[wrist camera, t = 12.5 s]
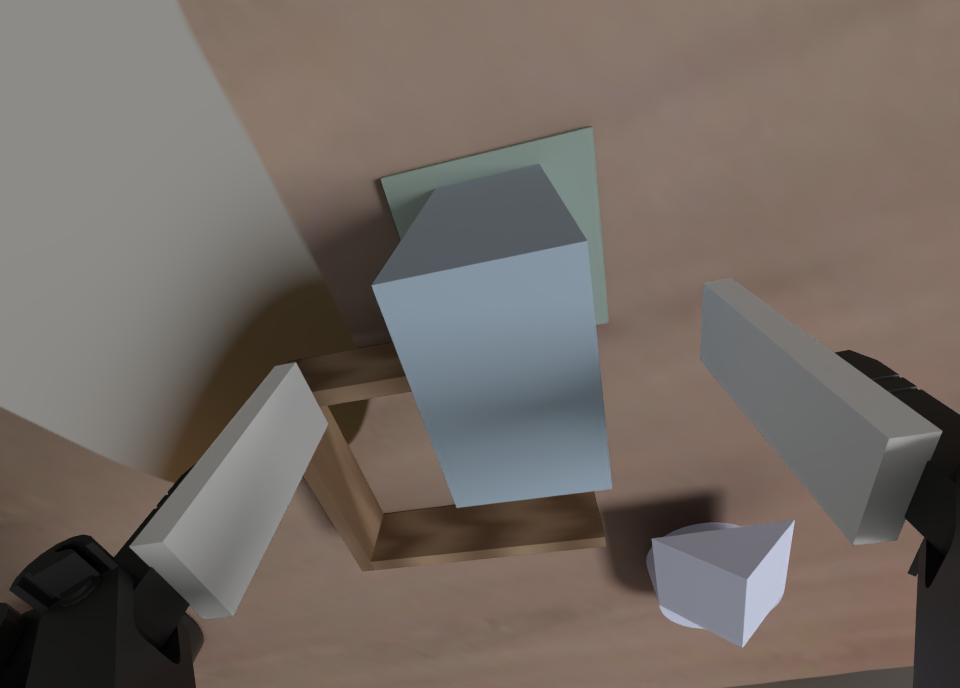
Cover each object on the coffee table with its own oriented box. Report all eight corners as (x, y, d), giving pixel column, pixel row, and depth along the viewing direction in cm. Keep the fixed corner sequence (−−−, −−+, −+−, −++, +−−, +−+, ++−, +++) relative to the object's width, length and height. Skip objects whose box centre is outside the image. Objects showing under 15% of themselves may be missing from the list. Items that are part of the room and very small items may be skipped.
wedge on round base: (637, 498, 32) (650, 592, 38) (668, 588, 26) (677, 682, 32) (766, 479, 30) (756, 580, 36) (830, 570, 24) (806, 672, 31)
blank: (473, 331, 24) (456, 507, 14) (435, 188, 20) (370, 285, 10) (561, 315, 23) (611, 488, 13) (539, 163, 19) (587, 240, 9)
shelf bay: (376, 523, 34) (362, 571, 31) (288, 361, 26) (256, 401, 23) (594, 497, 32) (606, 546, 28) (569, 309, 24) (581, 345, 20)
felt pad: (438, 348, 25) (437, 353, 25) (382, 176, 20) (380, 178, 20) (606, 318, 24) (608, 322, 23) (590, 126, 19) (592, 126, 19)
